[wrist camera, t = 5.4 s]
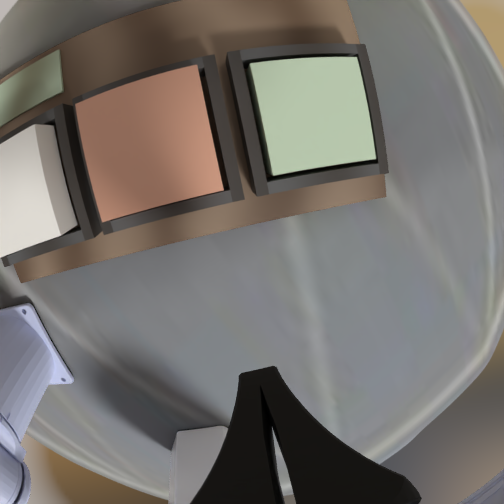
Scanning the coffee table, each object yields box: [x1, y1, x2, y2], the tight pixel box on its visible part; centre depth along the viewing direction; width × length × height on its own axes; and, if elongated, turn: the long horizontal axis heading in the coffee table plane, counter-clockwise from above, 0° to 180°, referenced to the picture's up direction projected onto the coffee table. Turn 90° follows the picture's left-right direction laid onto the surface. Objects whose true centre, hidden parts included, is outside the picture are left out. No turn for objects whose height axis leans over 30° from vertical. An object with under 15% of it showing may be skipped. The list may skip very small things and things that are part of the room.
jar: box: [169, 426, 228, 504], centre depth 20 cm, size 9×8×12 cm
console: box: [0, 0, 389, 283], centre depth 14 cm, size 25×14×3 cm, turn 101°
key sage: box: [246, 57, 376, 176], centre depth 14 cm, size 6×6×2 cm
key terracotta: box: [75, 65, 224, 222], centre depth 12 cm, size 6×6×2 cm
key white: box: [0, 124, 78, 258], centre depth 12 cm, size 6×6×2 cm
